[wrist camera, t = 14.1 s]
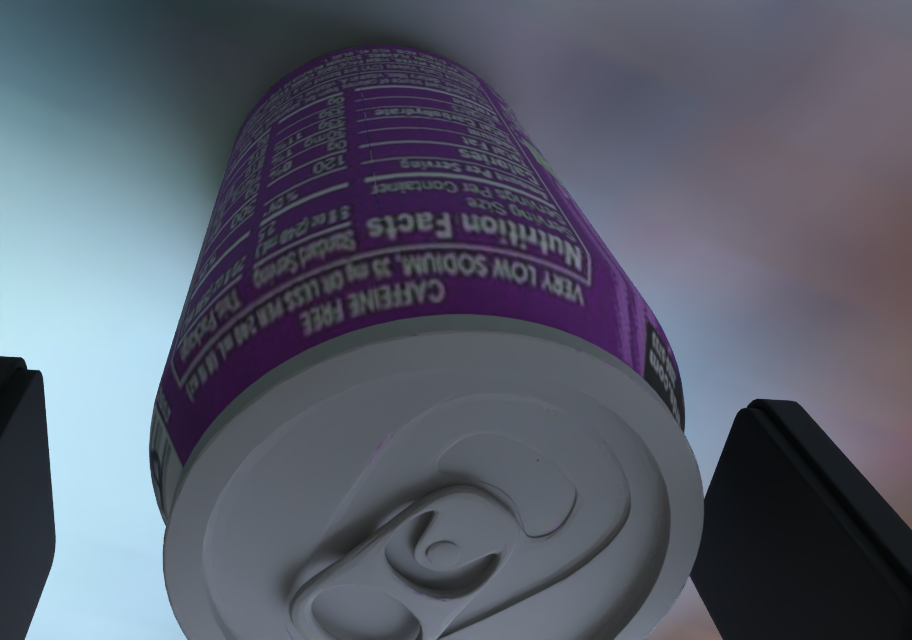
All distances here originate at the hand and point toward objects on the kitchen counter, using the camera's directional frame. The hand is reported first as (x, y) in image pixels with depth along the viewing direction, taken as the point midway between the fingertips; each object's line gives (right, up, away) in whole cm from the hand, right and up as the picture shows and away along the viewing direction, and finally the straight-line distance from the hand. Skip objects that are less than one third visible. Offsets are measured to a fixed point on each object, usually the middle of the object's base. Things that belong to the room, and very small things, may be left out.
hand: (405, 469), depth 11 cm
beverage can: (-1, +5, +9) cm, 10 cm away
